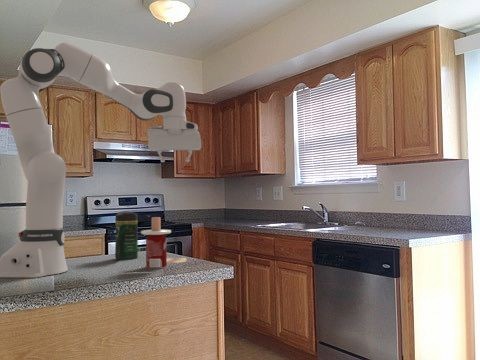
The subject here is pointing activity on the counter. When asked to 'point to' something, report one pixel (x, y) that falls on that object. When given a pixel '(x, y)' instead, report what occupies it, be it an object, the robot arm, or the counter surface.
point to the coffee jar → (126, 236)
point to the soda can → (156, 251)
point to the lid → (156, 228)
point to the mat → (176, 260)
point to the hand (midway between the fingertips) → (175, 161)
